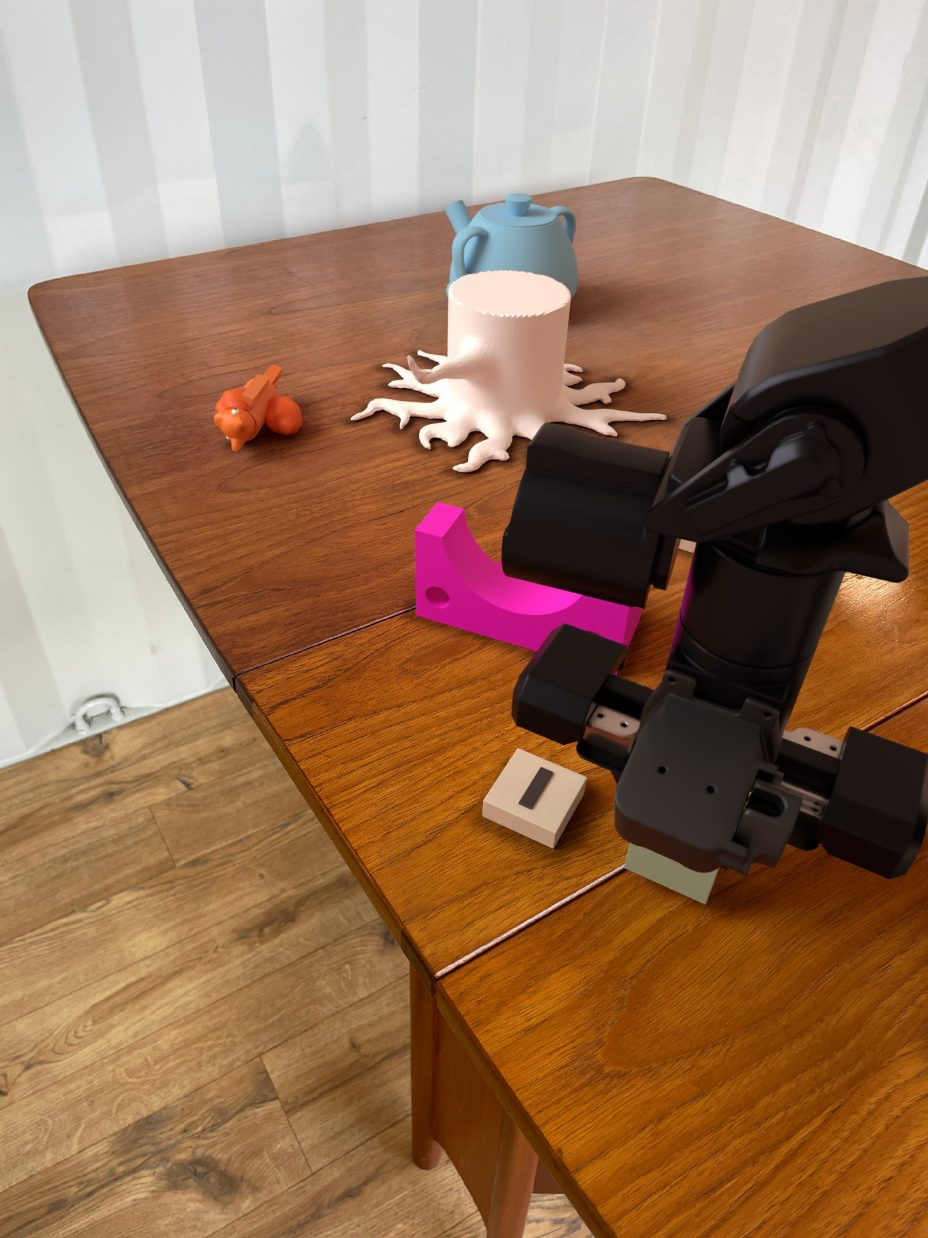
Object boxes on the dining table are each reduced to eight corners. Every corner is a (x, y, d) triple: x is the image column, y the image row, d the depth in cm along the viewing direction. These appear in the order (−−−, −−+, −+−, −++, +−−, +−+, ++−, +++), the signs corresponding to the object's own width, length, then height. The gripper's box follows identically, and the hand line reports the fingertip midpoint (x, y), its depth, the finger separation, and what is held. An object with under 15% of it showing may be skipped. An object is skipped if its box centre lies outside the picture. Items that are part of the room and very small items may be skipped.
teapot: (490, 347, 100) (496, 229, 91) (387, 292, 111) (384, 183, 103) (613, 307, 109) (628, 197, 101) (507, 260, 121) (512, 158, 113)
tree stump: (511, 515, 74) (520, 389, 67) (297, 402, 89) (285, 288, 81) (688, 406, 90) (711, 294, 83) (482, 325, 104) (487, 223, 97)
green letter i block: (729, 841, 49) (751, 781, 46) (705, 905, 46) (727, 846, 43) (651, 808, 50) (667, 748, 47) (623, 868, 47) (638, 808, 44)
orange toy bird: (252, 343, 85) (204, 401, 76) (326, 374, 86) (287, 434, 77) (243, 388, 88) (195, 448, 79) (314, 417, 89) (275, 480, 80)
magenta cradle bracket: (639, 620, 65) (656, 535, 60) (616, 675, 60) (632, 588, 55) (450, 567, 69) (452, 484, 64) (415, 615, 64) (414, 529, 60)
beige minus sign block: (584, 793, 53) (587, 775, 52) (553, 849, 50) (556, 831, 49) (516, 763, 54) (517, 745, 53) (481, 816, 51) (483, 798, 50)
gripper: (461, 659, 35) (454, 882, 45) (969, 859, 29) (828, 1067, 39) (572, 521, 43) (545, 739, 53) (995, 655, 36) (871, 874, 46)
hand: (680, 842), depth 48 cm, fingers closed on green letter i block, 4 cm apart
